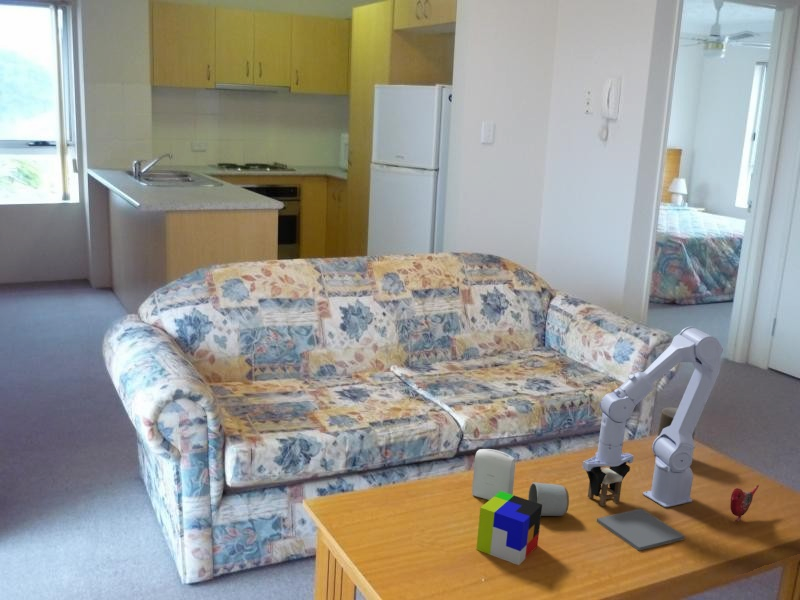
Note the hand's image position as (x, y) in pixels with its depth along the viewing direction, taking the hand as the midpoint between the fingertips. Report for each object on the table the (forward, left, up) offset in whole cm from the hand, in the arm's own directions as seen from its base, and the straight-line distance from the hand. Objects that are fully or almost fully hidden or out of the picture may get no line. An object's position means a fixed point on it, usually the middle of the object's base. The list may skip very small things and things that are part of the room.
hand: (604, 492), depth 206 cm
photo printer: (+26, -11, -2) cm, 28 cm away
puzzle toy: (+36, +10, -2) cm, 37 cm away
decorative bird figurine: (-26, +20, -2) cm, 33 cm away
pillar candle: (-37, -13, -2) cm, 39 cm away
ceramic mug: (+18, -1, -2) cm, 18 cm away
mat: (+2, +15, -2) cm, 15 cm away
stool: (0, 0, -2) cm, 2 cm away
